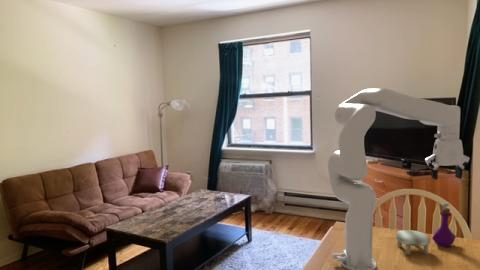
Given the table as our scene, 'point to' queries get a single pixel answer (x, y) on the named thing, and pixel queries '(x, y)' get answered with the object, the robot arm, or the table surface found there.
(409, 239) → the stool
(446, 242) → the perfume bottle
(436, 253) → the table surface
